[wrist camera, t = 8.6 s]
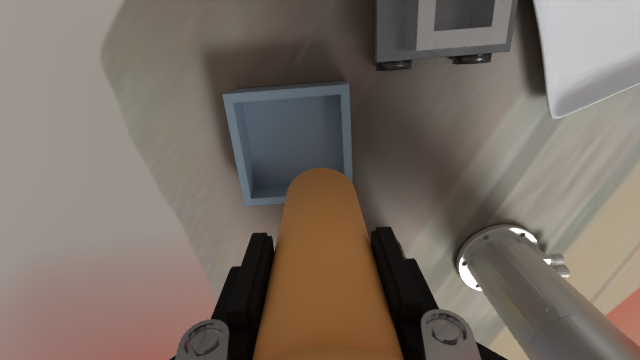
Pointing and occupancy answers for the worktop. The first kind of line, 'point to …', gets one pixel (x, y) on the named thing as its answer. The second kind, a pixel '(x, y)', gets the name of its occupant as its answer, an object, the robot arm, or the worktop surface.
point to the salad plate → (587, 50)
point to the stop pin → (324, 279)
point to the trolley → (441, 30)
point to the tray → (287, 135)
